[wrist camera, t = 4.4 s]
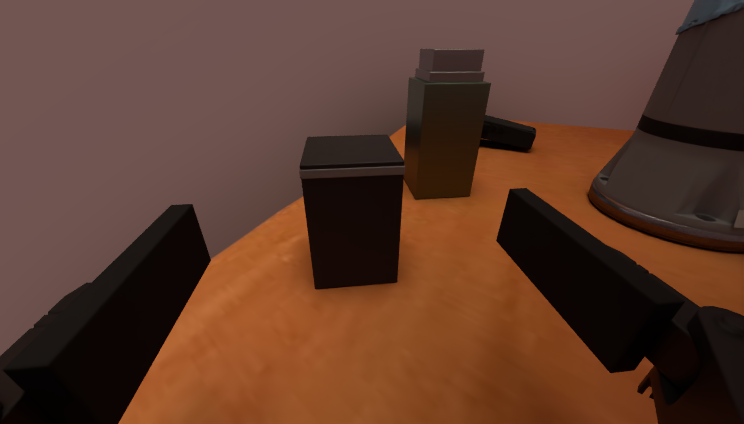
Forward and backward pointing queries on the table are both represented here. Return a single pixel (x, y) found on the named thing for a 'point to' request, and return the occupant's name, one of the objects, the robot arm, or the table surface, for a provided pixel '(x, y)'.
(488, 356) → the table surface
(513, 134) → the walkie-talkie
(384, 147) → the dark lidded box
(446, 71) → the olive square canister
